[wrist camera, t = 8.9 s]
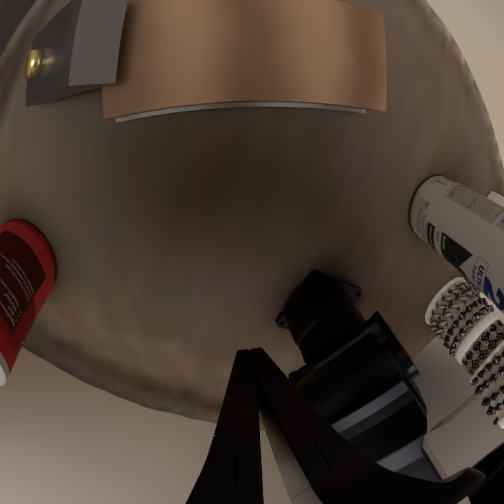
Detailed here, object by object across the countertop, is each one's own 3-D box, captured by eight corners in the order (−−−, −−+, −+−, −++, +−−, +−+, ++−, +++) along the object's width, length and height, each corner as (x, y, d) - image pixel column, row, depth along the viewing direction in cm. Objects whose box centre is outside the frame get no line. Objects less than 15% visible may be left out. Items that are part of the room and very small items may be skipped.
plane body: (358, 21, 13) (386, 11, 10) (361, 112, 16) (389, 117, 13) (116, 20, 10) (98, 4, 7) (118, 122, 14) (99, 126, 11)
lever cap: (129, -6, 7) (72, -14, 4) (115, 83, 9) (54, 87, 7) (63, 36, 10) (24, 39, 7) (56, 101, 12) (16, 109, 10)
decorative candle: (470, 291, 31) (558, 402, 10) (430, 333, 33) (508, 454, 12) (462, 262, 27) (576, 395, 5) (415, 312, 29) (513, 463, 8)
